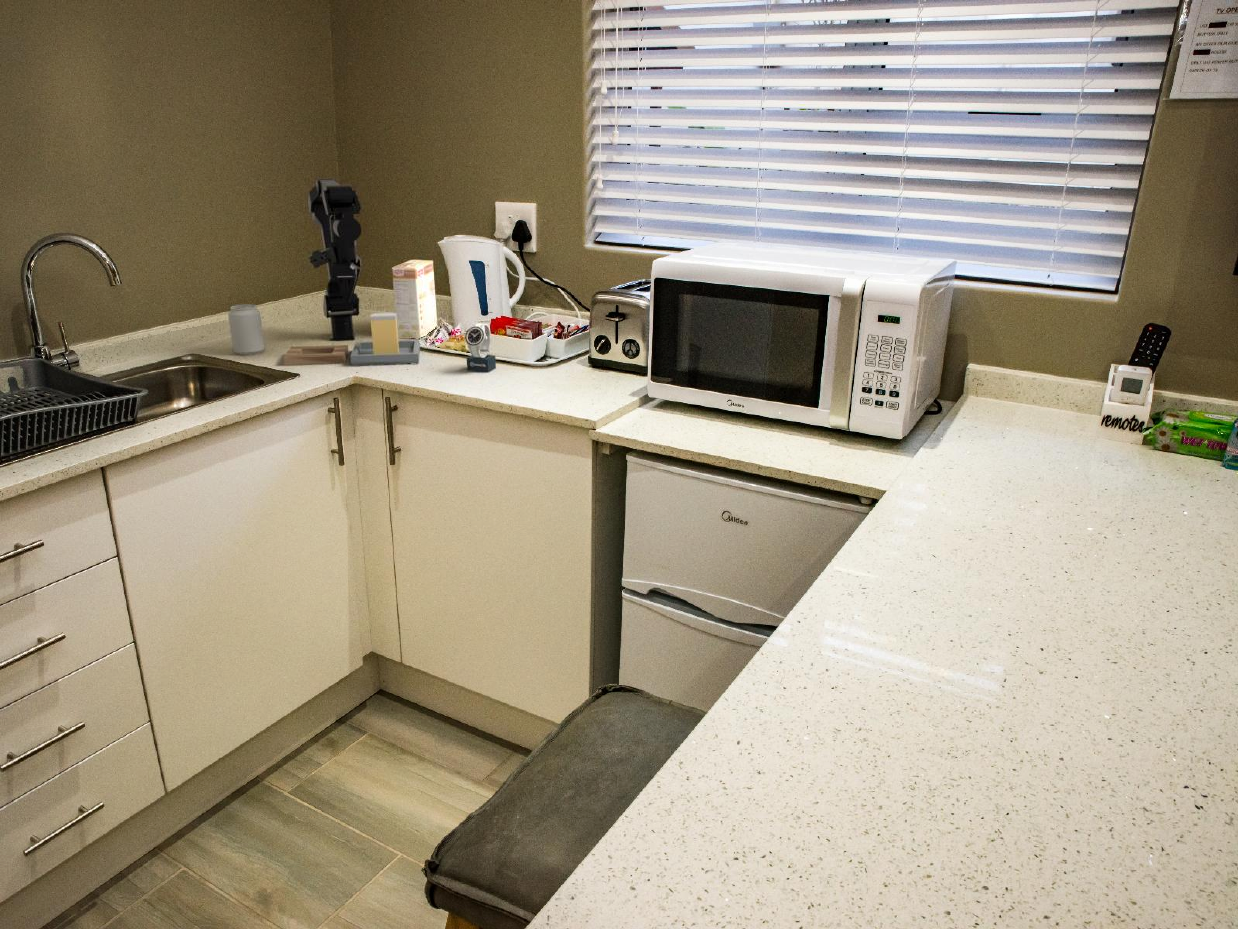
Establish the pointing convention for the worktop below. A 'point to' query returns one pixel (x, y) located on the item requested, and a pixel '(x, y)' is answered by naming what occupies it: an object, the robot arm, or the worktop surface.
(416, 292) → the coffeecake box
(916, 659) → the worktop surface
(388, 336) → the tan rectangular block
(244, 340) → the can
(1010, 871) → the worktop surface
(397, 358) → the parts tray
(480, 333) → the watch
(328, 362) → the brown wooden frame
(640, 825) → the worktop surface
